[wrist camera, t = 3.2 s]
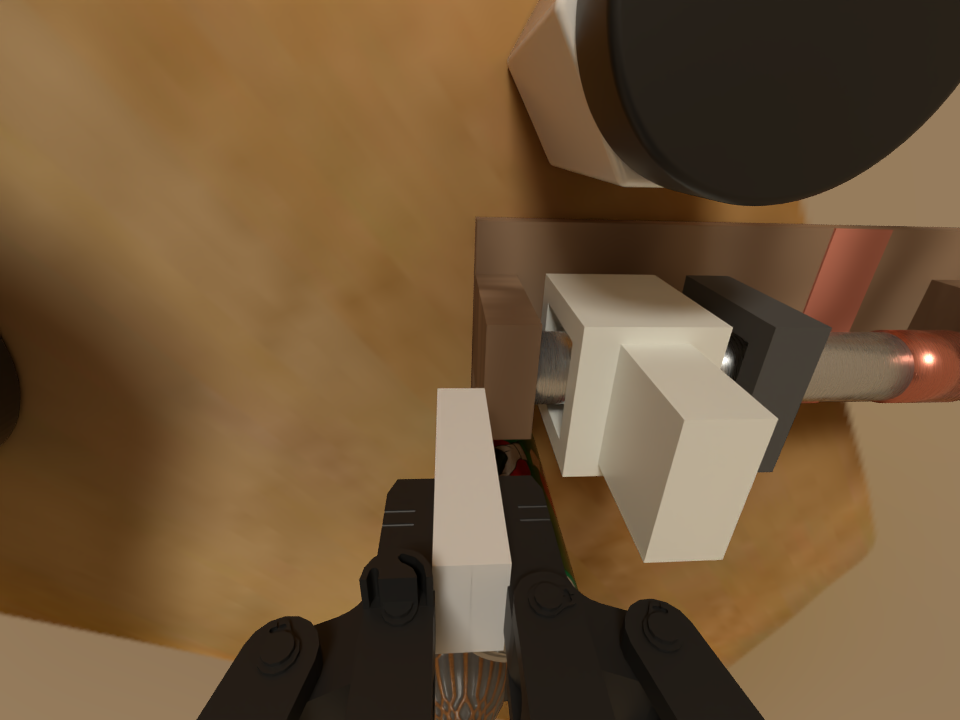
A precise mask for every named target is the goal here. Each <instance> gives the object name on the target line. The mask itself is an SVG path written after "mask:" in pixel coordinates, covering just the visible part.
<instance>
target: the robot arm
mask: <svg viewBox="0 0 960 720" xmlns="http://www.w3.org/2000/svg"><path fill="white" fill-rule="evenodd" d="M19 409H20V388H19V382H18V378H17V374H16V370H15V367H14V365H13V362H12V359H11V357H10V355H9V353H8V351H7V349H6V347H5V345H4V343H3V341H2V340H1V338H0V446H1V445H2V444H3V443H4V442H5V441H6V439H7V438H8V437H9V435H10V434H11V432H12V430H13V428H14V426H15V424H16V421H17V418H18V415H19ZM359 581H360V589H361V597H362V601H361V602H360V603H359V605H357V606H356V607H355V608H353V609H352V610H351V611H349V612H347V613H345V614H343V615H341V616H339V617H336V618H334V619H331V620H328V621H325V622H322V623H320V624H317V625H314V626H313V624H312V623H311V622H310V621H308V620H306V619H304V618H302V617H299V616H285V617H282V618H279V619H276V620H273V621H270V622H269V623H267V624H266V625H264V626H263V627H261V628H260V629H259V630H257V631H256V632H255V633H254V634H253V635H252V636H251V637H250V639H249V640H248V641H247V642H246V643H245V644H244V646H243V647H242V649H241V651H240V652H239V654H238V655H237V657H236V658H235V660H234V662H233V663H232V665H231V666H230V668H229V669H228V671H227V673H226V674H225V676H224V678H223V679H222V681H221V682H220V684H219V685H218V687H217V688H216V690H215V692H214V693H213V695H212V696H211V698H210V700H209V701H208V703H207V704H206V706H205V707H204V709H203V710H202V712H201V714H200V715H199V717H198V719H197V720H435V654H445V653H464V652H483V651H503V650H504V641H505V649H506V658H507V670H506V680H505V690H504V701H508V706H509V715H510V720H764V718H763V717H762V715H761V714H760V713H759V711H758V710H757V709H756V707H755V706H754V705H753V703H752V702H751V701H750V700H749V698H748V697H747V696H746V694H745V693H744V692H743V690H742V689H741V688H740V686H739V685H738V684H737V682H736V681H735V680H734V678H733V677H732V676H731V674H730V673H729V672H728V670H727V669H726V668H725V666H724V665H723V664H722V662H721V661H720V660H719V658H718V657H717V656H716V654H715V653H714V652H713V650H712V649H711V648H710V646H709V645H708V644H707V642H706V641H705V640H704V638H703V637H702V636H701V634H700V633H699V632H698V630H697V629H696V628H695V626H694V625H693V624H692V622H691V621H690V620H689V619H688V618H687V617H686V616H685V615H684V614H683V613H682V612H681V611H680V610H678V609H676V608H675V607H673V606H671V605H670V604H668V603H666V602H663V601H659V600H655V599H644V600H639V601H637V602H636V603H634V604H632V605H631V606H630V607H629V609H628V611H626V610H623V609H619V608H615V607H612V606H608V605H604V604H601V603H598V602H596V601H593V600H591V599H589V598H587V597H586V596H584V595H583V594H581V593H580V592H579V591H578V590H577V589H576V588H575V587H574V586H573V585H572V583H571V582H570V581H569V579H568V577H567V575H566V572H565V570H564V566H563V562H562V559H561V555H560V551H559V548H558V544H557V541H556V537H555V533H554V530H553V526H552V522H551V521H550V515H549V511H548V508H547V504H546V500H545V497H544V493H543V489H542V488H541V487H540V485H539V484H538V483H537V482H536V481H535V480H534V478H533V477H532V476H531V475H524V476H498V472H497V465H496V459H495V452H494V446H493V439H492V433H491V426H490V420H489V413H488V407H487V400H486V394H485V388H442V389H438V393H437V425H436V458H435V479H398V480H397V481H396V483H395V484H394V485H393V487H392V488H391V490H390V491H389V492H388V494H387V499H386V505H385V514H384V518H383V526H382V530H381V536H380V543H379V549H378V555H377V556H376V557H374V558H373V559H372V560H371V561H370V562H369V563H368V564H367V565H366V566H365V567H364V570H363V572H362V574H361V577H360V579H359Z"/></svg>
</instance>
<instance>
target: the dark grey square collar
mask: <svg viewBox="0 0 960 720" xmlns="http://www.w3.org/2000/svg"><path fill="white" fill-rule="evenodd" d="M682 294H684V295H685V296H687V297H688V298H690V299H691V300H693V301H694V302H696V303H697V304H699V305H700V306H702V307H703V308H705V309H706V310H708V311H709V312H711V313H712V314H714V315H715V316H717V317H718V318H720V319H721V320H723V321H724V322H726V323H727V324H729V325H730V326H732V327H733V329H732V331H733V332H734V333H736V334H737V335H739V336H740V337H741V338H743V339H744V340H746V341H747V342H749V343H748V347H747V350H746V353H745V356H744V359H743V362H742V365H741V368H740V371H739V374H738V377H737V380H736V383H737V384H738V385H739V386H741V387H742V388H743V389H744V390H745V391H746V392H748V393H749V394H750V395H751V396H752V397H753V398H755V399H756V400H757V401H758V402H759V403H760V404H762V405H763V406H764V407H765V408H766V409H767V410H769V411H770V412H771V413H772V414H773V415H775V416H776V417H777V418H778V421H777V423H776V426H775V429H774V431H773V434H772V436H771V439H770V441H769V444H768V446H767V449H766V451H765V454H764V456H763V459H762V461H761V464H760V466H759V469H758V471H757V472H773V469H774V467H775V464H776V462H777V460H778V457H779V455H780V452H781V450H782V448H783V445H784V443H785V440H786V438H787V436H788V433H789V431H790V428H791V426H792V424H793V421H794V419H795V416H796V414H797V412H798V409H799V407H800V404H801V402H802V400H803V397H804V395H805V392H806V390H807V388H808V385H809V383H810V380H811V378H812V376H813V373H814V371H815V368H816V366H817V364H818V361H819V359H820V356H821V354H822V352H823V349H824V347H825V344H826V342H827V340H828V337H829V335H830V332H831V330H832V327H830V326H828V325H826V324H824V323H822V322H820V321H818V320H816V319H814V318H812V317H810V316H808V315H806V314H804V313H802V312H800V311H798V310H796V309H794V308H792V307H790V306H788V305H786V304H784V303H782V302H780V301H778V300H776V299H774V298H772V297H770V296H768V295H766V294H764V293H762V292H760V291H758V290H756V289H754V288H752V287H750V286H748V285H746V284H744V283H742V282H740V281H738V280H736V279H734V278H732V277H730V276H706V275H686V279H685V283H684V287H683V291H682Z"/></svg>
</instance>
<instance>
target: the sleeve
mask: <svg viewBox="0 0 960 720" xmlns="http://www.w3.org/2000/svg"><path fill="white" fill-rule="evenodd" d="M541 323H542V331H566V332H567V334H568V335H569V337H570V339H571V340H572V342H573V345H572V352H571V359H570V367H569V374H568V381H567V388H566V396H565V403H564V404H538V407H539V410H540V413H541V416H542V419H543V422H544V424H545V427H546V430H547V433H548V436H549V439H550V442H551V445H552V448H553V451H554V454H555V457H556V459H557V462H558V465H559V468H560V471H561V474H562V477H576V476H604V478H605V480H606V482H607V484H608V487H609V489H610V491H611V493H612V495H613V497H614V499H615V502H616V504H617V506H618V508H619V510H620V512H621V515H622V517H623V519H624V521H625V523H626V525H627V527H628V530H629V532H630V534H631V536H632V538H633V540H634V543H635V545H636V547H637V549H638V551H639V553H640V555H641V558H642V560H643V562H644V563H649V562H674V561H700V560H722V559H723V557H724V554H725V552H726V549H727V547H728V544H729V542H730V539H731V537H732V534H733V532H734V529H735V527H736V524H737V522H738V519H739V517H740V514H741V512H742V509H743V507H744V504H745V501H746V499H747V496H748V494H749V491H750V489H751V486H752V484H753V481H754V479H755V476H756V474H757V471H758V469H759V466H760V464H761V461H762V459H763V456H764V454H765V451H766V449H767V446H768V444H769V441H770V439H771V436H772V434H773V431H774V429H775V426H776V423H777V421H778V418H777V417H776V416H775V415H773V414H772V413H771V412H770V411H769V410H767V409H766V408H765V407H764V406H763V405H762V404H760V403H759V402H758V401H757V400H756V399H755V398H753V397H752V396H751V395H750V394H749V393H748V392H746V391H745V390H744V389H743V388H742V387H741V386H739V385H738V384H737V383H736V382H735V381H734V380H732V379H731V378H730V377H729V376H728V375H726V374H725V373H724V372H723V371H722V370H721V369H720V368H721V365H722V362H723V358H724V355H725V352H726V349H727V346H728V342H729V339H730V336H731V333H732V329H733V327H732V326H730V325H729V324H727V323H726V322H724V321H723V320H721V319H720V318H718V317H717V316H715V315H714V314H712V313H711V312H709V311H708V310H706V309H705V308H703V307H702V306H700V305H699V304H697V303H696V302H694V301H693V300H691V299H690V298H688V297H687V296H685V295H684V294H682V293H681V292H679V291H678V290H676V289H675V288H673V287H672V286H670V285H669V284H667V283H666V282H664V281H663V280H662V279H660V278H659V277H657V276H656V275H626V274H546V277H545V287H544V297H543V307H542V317H541Z"/></svg>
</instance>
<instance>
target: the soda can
mask: <svg viewBox="0 0 960 720" xmlns="http://www.w3.org/2000/svg"><path fill="white" fill-rule="evenodd" d="M493 446H494V452H495V459H496V465H497V472H498V476H524V475H531V476H532V477H533V478H534V480H535V481H536V482H537V483H538V484H539V485H540V487H541V488H542V489H543V493H544V497H545V500H546V504H547V508H548V511H549V515H550V521H551V522H552V526H553V530H554V533H555V537H556V541H557V544H558V548H559V551H560V555H561V559H562V562H563V566H564V570H565V572H566V575H567V577H568V579H569V581H570V582H571V583H572V585H573V586H574V587H575V588H576V589H577V590H578V588H577V585H576V581H575V578H574V575H573V571H572V568H571V564H570V561H569V557H568V554H567V551H566V547H565V544H564V540H563V537H562V534H561V530H560V527H559V523H558V520H557V516H556V513H555V510H554V506H553V503H552V499H551V496H550V492H549V489H548V486H547V482H546V479H545V475H544V472H543V468H542V465H541V462H540V458H539V455H538V451H537V448H536V444H535V441H534V438H533V434H532V433H531V439H510V440H493ZM472 653H474V654H475V655H477V656H479V657H481V658H484V659H487V660H491V661H495V662H502V663H507V658H506V649H505V641H504V650H503V651H483V652H472Z"/></svg>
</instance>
